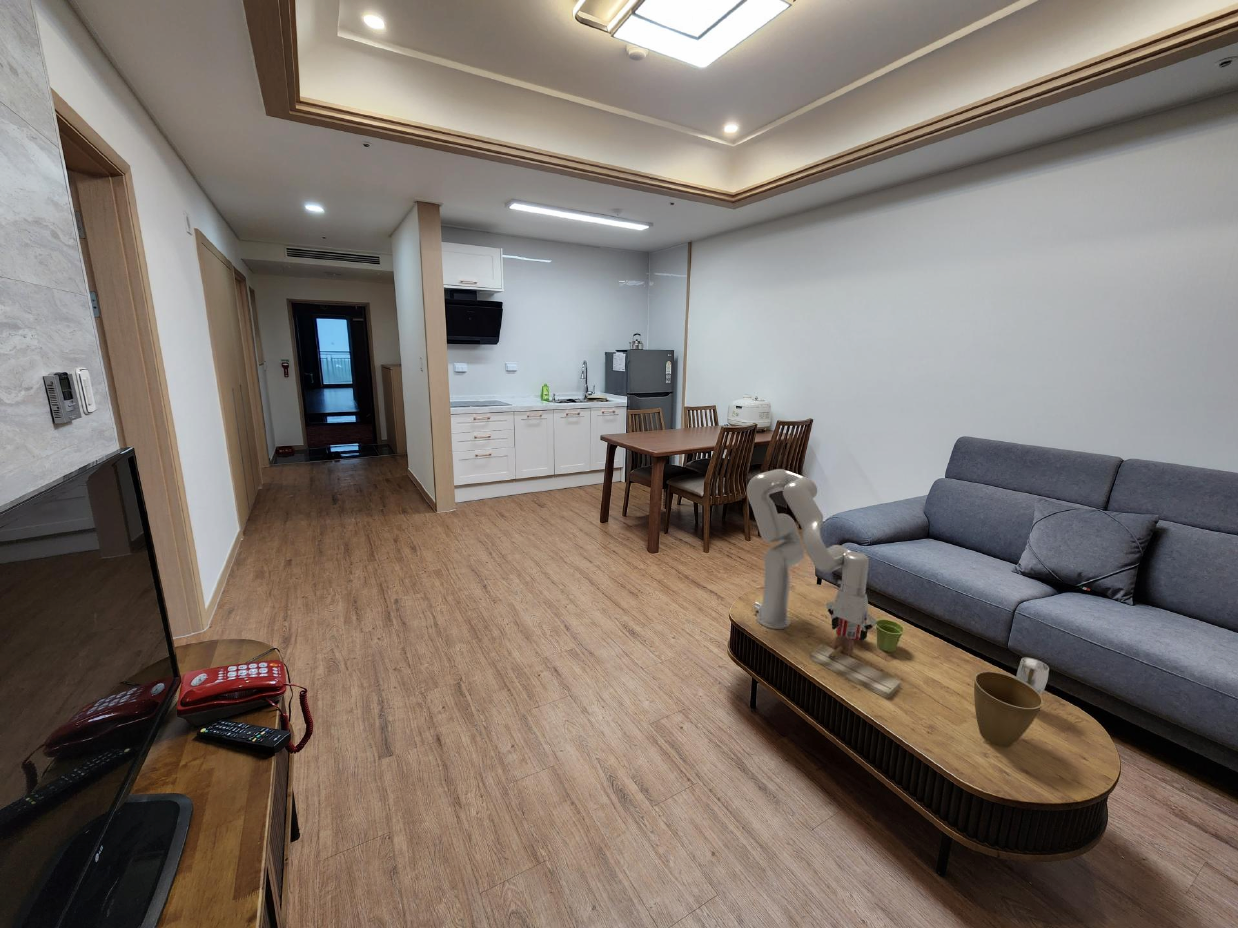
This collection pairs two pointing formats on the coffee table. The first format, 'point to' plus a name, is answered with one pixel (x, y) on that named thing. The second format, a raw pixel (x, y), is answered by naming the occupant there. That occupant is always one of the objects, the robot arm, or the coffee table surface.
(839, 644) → the cube with stick handle
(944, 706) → the coffee table surface
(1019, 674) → the beer glass
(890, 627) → the plant pot
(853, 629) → the soda can
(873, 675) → the board
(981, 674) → the plant pot
